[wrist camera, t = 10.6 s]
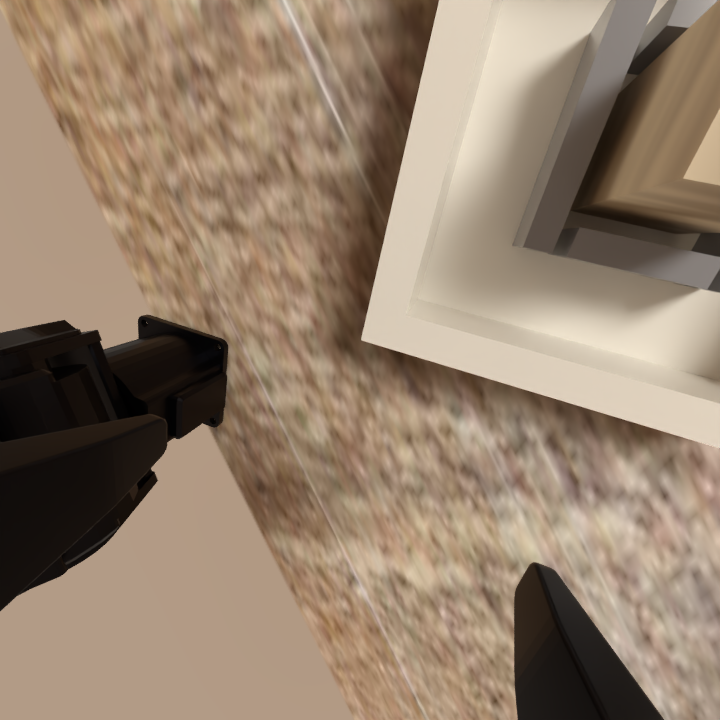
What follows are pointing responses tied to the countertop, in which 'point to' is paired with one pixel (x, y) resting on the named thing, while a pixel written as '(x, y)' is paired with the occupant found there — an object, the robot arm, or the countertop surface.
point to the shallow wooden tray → (545, 220)
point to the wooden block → (663, 141)
